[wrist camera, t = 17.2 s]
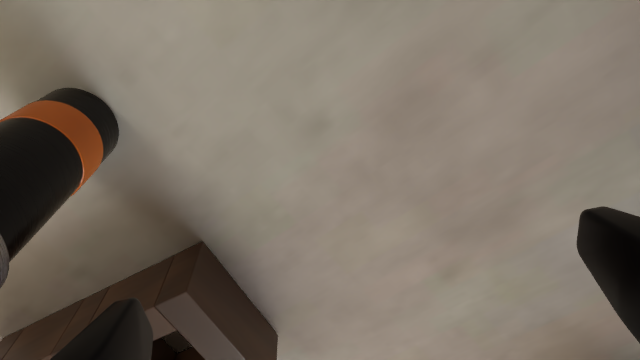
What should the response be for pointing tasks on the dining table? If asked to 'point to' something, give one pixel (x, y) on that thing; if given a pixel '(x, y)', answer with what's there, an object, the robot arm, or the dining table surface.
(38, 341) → the tool caddy
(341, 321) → the dining table surface
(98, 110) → the flashlight
